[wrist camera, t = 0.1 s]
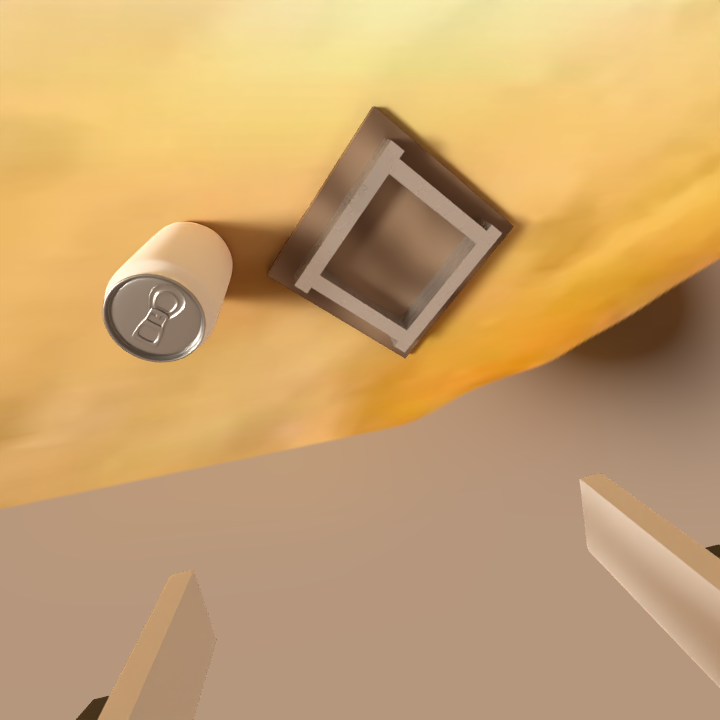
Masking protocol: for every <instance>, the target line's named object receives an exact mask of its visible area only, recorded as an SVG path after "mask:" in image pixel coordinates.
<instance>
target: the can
mask: <svg viewBox="0 0 720 720" xmlns="http://www.w3.org/2000/svg"><path fill="white" fill-rule="evenodd" d="M232 267H233V264H232V257H231V254H230V251H229V249H228V247H227V245H226V243H225V242H224V241H223V239H222V238H221V237H220V236H219V235H218V234H217V233H216V232H214V231H213V230H211V229H209V228H208V227H205V226H203V225H200V224H197V223H193V222H177V223H173V224H170V225H168V226H166V227H164V228H163V229H161V230H160V231H159V232H158V233H156V234H155V235H154V236H153V237H152V238H151V239H150V240H149V241H148V242H147V243H146V244H144V245H143V246H142V247H141V248H140V249H139V250H138V251H137V252H136V253H135V254H134V255H133V256H132V257H131V258H130V259H129V260H128V261H127V262H126V263H125V264H124V265H123V266H122V267H121V268H120V269H119V270H118V271H117V272H116V273H115V274H114V275H113V277H112V278H111V280H110V281H109V283H108V285H107V288H106V292H105V299H104V303H103V320H104V324H105V327H106V329H107V331H108V333H109V335H110V336H111V337H112V339H113V340H114V341H115V342H116V343H117V344H118V345H119V346H120V347H121V348H122V349H124V350H125V351H126V352H128V353H130V354H131V355H133V356H135V357H138V358H140V359H143V360H147V361H152V362H171V361H176V360H179V359H182V358H184V357H186V356H188V355H189V354H191V353H192V352H193V351H194V350H195V349H197V348H198V347H200V346H201V345H202V344H203V343H204V342H205V341H206V340H207V339H208V337H209V336H210V334H211V333H212V331H213V329H214V326H215V324H216V321H217V318H218V315H219V313H220V310H221V307H222V304H223V301H224V297H225V294H226V291H227V288H228V285H229V282H230V278H231V275H232Z"/></svg>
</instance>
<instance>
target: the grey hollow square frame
mask: <svg viewBox="0 0 720 720" xmlns="http://www.w3.org/2000/svg"><path fill="white" fill-rule="evenodd" d="M403 153H404V150H403V149H401V148H400V147H399V146H398V145H397V144H395V143H394V142H393V141H392V140H389V139H386V138H384V139H383V141H382V142H381V144H380V146H379V147H378V149H377V150H376V152H375V153H374V155H373V156H372V158H371V159H370V161H369V162H368V164H367V165H366V167H365V168H364V170H363V171H362V173H361V174H360V176H359V177H358V179H357V180H356V182H355V183H354V185H353V186H352V188H351V189H350V191H349V192H348V194H347V196H346V197H345V199H344V200H343V202H342V203H341V205H340V206H339V208H338V209H337V211H336V212H335V214H334V215H333V217H332V218H331V220H330V221H329V223H328V224H327V226H326V227H325V229H324V230H323V232H322V233H321V235H320V236H319V238H318V239H317V241H316V242H315V244H314V245H313V247H312V249H311V250H310V252H309V253H308V255H307V256H306V258H305V259H304V261H303V262H302V264H301V265H300V267H299V268H298V270H297V271H296V273H295V274H294V286H296V287H297V288H299V289H301V290H302V291H304V292H306V293H308V292H309V290H310V289H311V288H313V289H315V290H316V291H318V292H319V293H321V294H323V295H324V296H326V297H328V298H329V299H331V300H332V301H334V302H336V303H337V304H339V305H341V306H342V307H344V308H345V309H347V310H349V311H350V312H352V313H354V314H355V315H357V316H358V317H360V318H362V319H363V320H365V321H367V322H368V323H370V324H371V325H373V326H375V327H376V328H378V329H380V330H381V331H383V332H384V333H386V334H388V335H389V336H390V338H391V340H392V343H393V345H394V346H395V347H396V348H398V349H399V350H401V351H403V352H404V353H405V352H406V350H407V349H408V348H409V347H410V346H411V344H412V343H413V342H414V341H415V339H416V338H417V337H418V336H419V335H420V333H421V332H422V331H423V330H424V328H425V327H426V326H427V325H428V323H429V322H430V321H431V320H432V319H433V317H434V316H435V315H436V314H437V312H438V311H439V310H440V309H441V308H442V306H443V305H444V304H445V303H446V301H447V300H448V299H449V298H450V297H451V295H452V294H453V293H454V292H455V290H456V289H457V288H458V287H459V286H460V284H461V283H462V282H463V281H464V279H465V278H466V277H467V276H468V275H469V273H470V272H471V271H472V270H473V268H474V267H475V266H476V265H477V264H478V262H479V261H480V260H481V259H482V257H483V256H484V255H485V254H486V253H487V251H488V250H489V249H490V248H491V246H492V245H493V244H494V243H495V242H496V240H497V239H498V238H499V237H500V235H501V234H502V233H501V232H500V231H499V230H498V229H496V228H495V227H494V226H493V225H492V224H490V223H488V222H486V221H484V220H483V219H481V218H479V220H478V221H477V222H475V221H474V220H473V219H472V218H470V217H469V216H468V215H467V214H465V213H464V212H463V211H462V210H461V209H459V208H458V207H457V206H456V205H455V204H453V203H452V202H451V201H450V200H449V199H447V198H446V197H445V196H444V195H442V194H441V193H440V192H439V191H438V190H436V189H435V188H434V187H433V186H432V185H430V184H429V183H428V182H427V181H426V180H424V179H423V178H422V177H421V176H420V175H418V174H417V173H416V172H415V171H413V170H412V169H411V168H410V167H409V166H407V165H406V164H405V163H404V162H403V161H401V160H400V159H399V158H400V157H401V155H402V154H403ZM388 175H390V176H391V177H392V178H393V179H395V180H396V181H397V182H398V183H400V184H401V185H402V186H403V187H405V188H406V189H407V190H408V191H410V192H411V193H412V194H413V195H415V196H416V197H417V198H418V199H420V200H421V201H422V202H423V203H425V204H426V205H427V206H428V207H430V208H431V209H432V210H433V211H435V212H436V213H437V214H438V215H440V216H441V217H442V218H443V219H445V220H446V221H447V222H448V223H450V224H451V225H452V226H454V227H455V228H456V229H457V230H459V231H460V232H461V233H462V234H464V235H465V237H464V239H463V240H462V241H461V242H460V244H459V245H458V246H457V248H456V249H455V250H454V251H453V253H452V254H451V255H450V256H449V258H448V259H447V260H446V262H445V263H444V264H443V265H442V267H441V268H440V269H439V270H438V272H437V273H436V274H435V275H434V277H433V278H432V279H431V281H430V282H429V283H428V284H427V286H426V287H425V288H424V289H423V291H422V292H421V293H420V295H419V296H418V297H417V298H416V300H415V301H414V302H413V303H412V305H411V306H410V307H409V309H408V310H407V311H406V312H405V314H404V315H403V316H402V317H401V319H400V318H398V317H397V316H395V315H394V314H392V313H391V312H389V311H388V310H386V309H384V308H383V307H381V306H380V305H378V304H377V303H375V302H374V301H372V300H370V299H369V298H367V297H366V296H364V295H363V294H361V293H360V292H358V291H356V290H355V289H353V288H352V287H350V286H349V285H347V284H346V283H344V282H342V281H341V280H339V279H338V278H336V277H335V276H333V275H332V274H330V273H328V272H327V271H325V270H324V268H325V267H326V265H327V264H328V262H329V261H330V259H331V258H332V256H333V255H334V254H335V252H336V251H337V249H338V248H339V246H340V245H341V243H342V242H343V240H344V239H345V237H346V236H347V234H348V233H349V232H350V230H351V229H352V227H353V226H354V224H355V223H356V221H357V220H358V218H359V217H360V215H361V214H362V213H363V211H364V210H365V208H366V207H367V205H368V204H369V202H370V201H371V199H372V198H373V196H374V195H375V194H376V192H377V191H378V189H379V188H380V186H381V185H382V183H383V182H384V180H385V179H386V177H387V176H388Z"/></svg>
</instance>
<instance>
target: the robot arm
mask: <svg viewBox="0 0 720 720" xmlns="http://www.w3.org/2000/svg"><path fill="white" fill-rule="evenodd" d="M580 487H581V496H582V505H583V513H584V523H585V532H586V541H587V549H588V550H589V552H590V553H591V554H592V555H593V556H594V557H595V558H596V559H597V560H598V561H599V562H600V563H601V564H602V565H603V566H604V567H605V568H606V569H607V570H608V571H609V572H610V574H611V575H612V576H613V577H614V578H615V579H616V580H617V581H618V582H619V583H620V584H621V585H622V586H623V587H624V588H625V589H626V590H627V591H628V592H629V593H630V594H631V595H632V596H633V598H634V599H635V600H637V602H638V603H639V604H640V605H641V606H642V607H643V608H644V609H645V610H646V611H647V612H648V613H649V614H650V615H651V616H652V617H653V619H655V621H656V622H657V623H658V624H659V625H660V626H661V627H662V628H663V629H664V630H665V631H666V632H667V633H668V634H669V635H670V636H671V637H672V638H673V639H674V640H675V641H676V643H677V644H679V646H680V647H681V648H682V649H683V650H684V651H685V652H686V653H687V654H688V655H689V656H690V657H691V658H692V659H693V660H694V662H696V663H697V665H698V666H699V667H700V668H701V669H702V670H703V671H704V672H705V673H706V674H707V675H708V676H709V677H710V678H711V679H712V680H713V681H714V682H715V683H716V685H717V686H719V688H720V545H715V546H711V547H707V548H704V547H703V546H701V545H700V544H699V543H697V542H696V541H694V540H693V539H692V538H690V537H689V536H688V535H686V534H685V533H683V532H682V531H680V530H679V529H678V528H676V527H675V526H674V525H672V524H671V523H669V522H668V521H667V520H665V519H664V518H663V517H661V516H660V515H658V514H657V513H655V512H654V511H653V510H651V509H650V508H649V507H647V506H646V505H644V504H643V503H642V502H640V501H639V500H638V499H636V498H635V497H633V496H632V495H631V494H629V493H628V492H627V491H625V490H624V489H622V488H621V487H620V486H618V485H617V484H615V483H614V482H613V481H611V480H609V478H607V477H606V476H604V475H603V474H601V473H600V474H596V475H592V476H588V477H583V478H580ZM216 640H217V639H216V636H215V633H214V630H213V627H212V624H211V621H210V618H209V614H208V612H207V608H206V605H205V602H204V599H203V596H202V593H201V590H200V587H199V584H198V581H197V578H196V575H195V572H194V570H190V571H186V572H182V573H177V574H173V575H170V577H169V579H168V581H167V583H166V585H165V587H164V589H163V591H162V593H161V595H160V597H159V599H158V601H157V603H156V605H155V607H154V609H153V611H152V613H151V615H150V617H149V619H148V621H147V623H146V625H145V627H144V629H143V631H142V633H141V634H140V636H139V639H138V640H137V642H136V644H135V646H134V648H133V650H132V653H131V654H130V656H129V658H128V660H127V662H126V664H125V666H124V668H123V670H122V672H121V674H120V676H119V678H118V680H117V682H116V684H115V686H114V688H113V690H112V692H111V694H110V696H106V697H102V698H98V699H94V700H93V701H92V702H91V703H90V704H89V705H88V707H87V708H86V709H85V710H84V711H83V712H82V713H81V714H80V716H79V717H78V718H77V719H76V720H194V716H195V713H196V709H197V706H198V702H199V699H200V695H201V692H202V689H203V685H204V682H205V678H206V675H207V671H208V668H209V665H210V661H211V658H212V654H213V651H214V647H215V644H216Z"/></svg>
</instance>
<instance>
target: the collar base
mask: <svg viewBox="0 0 720 720" xmlns="http://www.w3.org/2000/svg"><path fill="white" fill-rule="evenodd" d="M384 138H386V139H389V140H392V141H393V142H394V143H395V144H397V145H398V146H399V147H400V148H401V149H403V150H404V153H403V154H402V155H401V157H400V158H399V159H400V160H401V161H403V162H404V163H405V164H406V165H407V166H409V167H410V168H411V169H412V170H413V171H415V172H416V173H417V174H418V175H420V176H421V177H422V178H423V179H424V180H426V181H427V182H428V183H429V184H430V185H432V186H433V187H434V188H435V189H436V190H438V191H439V192H440V193H441V194H442V195H444V196H445V197H446V198H447V199H449V200H450V201H451V202H452V203H453V204H455V205H456V206H457V207H458V208H459V209H461V210H462V211H463V212H464V213H465V214H467V215H468V216H469V217H470V218H472V219H473V220H474V221H475V222H477V221H478V220H479V218H481V219H483V220H484V221H486V222H488V223H490V224H492V225H493V226H494V227H495V228H496V229H498V230H499V231H500V232H501V233H502V234H501V235H500V237H499V238H498V239H497V240H496V242H495V243H494V244H493V245H492V246H491V248H490V249H489V250H488V251H487V253H486V254H485V255H484V256H483V257H482V259H481V260H480V261H479V262H478V264H477V265H476V266H475V267H474V268H473V270H472V271H471V272H470V273H469V275H468V276H467V277H466V278H465V279H464V281H463V282H462V283H461V284H460V286H459V287H458V288H457V289H456V290H455V292H454V293H453V294H452V295H451V297H450V298H449V299H448V300H447V301H446V303H445V304H444V305H443V306H442V308H441V309H440V310H439V311H438V312H437V314H436V315H435V316H434V317H433V319H432V320H431V321H430V322H429V323H428V325H427V326H426V327H425V328H424V330H423V331H422V332H421V333H420V335H419V336H418V337H417V338H416V339H415V341H414V342H413V343H412V344H411V346H410V347H409V348H408V349H407V350H406V352H405V353H404V352H403V351H401V350H399V349H398V348H396V347H395V346H394V345H393V343H392V340H391V338H390V336H389V335H388V334H386V333H384V332H383V331H381V330H380V329H378V328H376V327H375V326H373V325H371V324H370V323H368V322H367V321H365V320H363V319H362V318H360V317H358V316H357V315H355V314H354V313H352V312H350V311H349V310H347V309H345V308H344V307H342V306H341V305H339V304H337V303H336V302H334V301H332V300H331V299H329V298H328V297H326V296H324V295H323V294H321V293H319V292H318V291H316V290H315V289H313V288H311V289H310V290H309V292H308V293H306V292H304V291H302V290H301V289H299V288H297V287H296V286H294V274H295V273H296V271H297V270H298V268H299V267H300V265H301V264H302V262H303V261H304V259H305V258H306V256H307V255H308V253H309V252H310V250H311V249H312V247H313V245H314V244H315V242H316V241H317V239H318V238H319V236H320V235H321V233H322V232H323V230H324V229H325V227H326V226H327V224H328V223H329V221H330V220H331V218H332V217H333V215H334V214H335V212H336V211H337V209H338V208H339V206H340V205H341V203H342V202H343V200H344V199H345V197H346V196H347V194H348V192H349V191H350V189H351V188H352V186H353V185H354V183H355V182H356V180H357V179H358V177H359V176H360V174H361V173H362V171H363V170H364V168H365V167H366V165H367V164H368V162H369V161H370V159H371V158H372V156H373V155H374V153H375V152H376V150H377V149H378V147H379V146H380V144H381V142H382V141H383V139H384ZM513 227H514V226H513V225H511V224H510V223H509V222H508V221H507V220H506V219H504V218H503V217H502V216H501V215H500V214H499V213H498V212H496V211H495V210H494V209H493V208H492V207H491V206H489V205H488V204H487V203H486V202H485V201H484V200H482V199H481V198H480V197H479V196H478V195H477V194H476V193H474V192H473V191H472V190H471V189H470V188H469V187H467V186H466V185H465V184H464V183H463V182H462V181H460V180H459V179H458V178H457V177H456V176H455V175H453V174H452V173H451V172H450V171H449V170H448V169H447V168H445V167H444V166H443V165H442V164H441V163H440V162H438V161H437V160H436V159H435V158H434V157H433V156H431V155H430V154H429V153H428V152H427V151H426V150H425V149H423V148H422V147H421V146H420V145H419V144H418V143H416V142H415V141H414V140H413V139H412V138H411V137H409V136H408V135H407V134H406V133H405V132H404V131H403V130H401V129H400V128H399V127H398V126H397V125H396V124H394V123H393V122H392V121H391V120H390V119H389V118H387V117H386V116H385V115H384V114H383V113H382V112H381V111H379V110H378V109H377V108H376V107H372V108H371V110H370V111H369V113H368V115H367V116H366V118H365V119H364V121H363V122H362V124H361V126H360V127H359V129H358V130H357V132H356V134H355V135H354V137H353V138H352V140H351V141H350V143H349V145H348V146H347V148H346V149H345V151H344V152H343V154H342V156H341V157H340V159H339V160H338V162H337V163H336V165H335V167H334V168H333V170H332V171H331V173H330V174H329V176H328V178H327V179H326V181H325V182H324V184H323V186H322V187H321V189H320V190H319V192H318V193H317V195H316V197H315V198H314V200H313V201H312V203H311V204H310V206H309V208H308V209H307V211H306V212H305V214H304V215H303V217H302V219H301V220H300V222H299V223H298V225H297V226H296V228H295V230H294V231H293V233H292V234H291V236H290V238H289V239H288V241H287V242H286V244H285V245H284V247H283V249H282V250H281V252H280V253H279V255H278V256H277V258H276V260H275V261H274V263H273V264H272V266H271V267H270V269H269V271H268V274H267V276H269V277H270V278H272V279H274V280H275V281H277V282H279V283H280V284H282V285H284V286H285V287H287V288H289V289H290V290H292V291H294V292H295V293H297V294H299V295H300V296H302V297H304V298H305V299H307V300H309V301H310V302H312V303H314V304H315V305H317V306H319V307H320V308H322V309H324V310H325V311H327V312H329V313H330V314H332V315H334V316H335V317H337V318H339V319H340V320H342V321H344V322H345V323H347V324H349V325H350V326H352V327H354V328H355V329H357V330H359V331H360V332H362V333H364V334H365V335H367V336H369V337H370V338H372V339H374V340H375V341H377V342H379V343H380V344H382V345H384V346H385V347H387V348H389V349H390V350H392V351H394V352H395V353H397V354H399V355H400V356H402V357H404V358H406V357H407V356H408V354H409V353H410V352H411V351H412V350H413V348H414V347H415V346H416V345H417V343H418V342H419V341H420V340H421V339H422V337H423V336H424V335H425V334H426V333H427V331H428V330H429V329H430V328H431V326H432V325H433V324H434V323H435V322H436V320H437V319H438V318H439V317H440V316H441V314H442V313H443V312H444V311H445V309H446V308H447V307H448V306H449V305H450V303H451V302H452V301H453V300H454V298H455V297H456V296H457V295H458V294H459V292H460V291H461V290H462V289H463V288H464V286H465V285H466V284H467V283H468V281H469V280H470V279H471V278H472V277H473V275H474V274H475V273H476V272H477V271H478V269H479V268H480V267H481V266H482V264H483V263H484V262H485V261H486V260H487V258H488V257H489V256H490V255H491V254H492V252H493V251H494V250H495V249H496V247H497V246H498V245H499V244H500V243H501V241H502V240H503V239H504V238H505V236H506V235H507V234H508V233H509V232H510V230H511V229H512V228H513ZM464 237H465V235H464V234H462V233H461V232H460V231H459V230H457V229H456V228H455V227H454V226H452V225H451V224H450V223H448V222H447V221H446V220H445V219H443V218H442V217H441V216H440V215H438V214H437V213H436V212H435V211H433V210H432V209H431V208H430V207H428V206H427V205H426V204H425V203H423V202H422V201H421V200H420V199H418V198H417V197H416V196H415V195H413V194H412V193H411V192H410V191H408V190H407V189H406V188H405V187H403V186H402V185H401V184H400V183H398V182H397V181H396V180H395V179H393V178H392V177H391V176H390V175H388V176H387V177H386V179H385V180H384V182H383V183H382V185H381V186H380V188H379V189H378V191H377V192H376V194H375V195H374V196H373V198H372V199H371V201H370V202H369V204H368V205H367V207H366V208H365V210H364V211H363V213H362V214H361V215H360V217H359V218H358V220H357V221H356V223H355V224H354V226H353V227H352V229H351V230H350V232H349V233H348V234H347V236H346V237H345V239H344V240H343V242H342V243H341V245H340V246H339V248H338V249H337V251H336V252H335V254H334V255H333V256H332V258H331V259H330V261H329V262H328V264H327V265H326V267H325V268H324V270H325V271H327V272H328V273H330V274H332V275H333V276H335V277H336V278H338V279H339V280H341V281H342V282H344V283H346V284H347V285H349V286H350V287H352V288H353V289H355V290H356V291H358V292H360V293H361V294H363V295H364V296H366V297H367V298H369V299H370V300H372V301H374V302H375V303H377V304H378V305H380V306H381V307H383V308H384V309H386V310H388V311H389V312H391V313H392V314H394V315H395V316H397V317H398V318H400V319H401V317H402V316H403V315H404V314H405V312H406V311H407V310H408V309H409V307H410V306H411V305H412V303H413V302H414V301H415V300H416V298H417V297H418V296H419V295H420V293H421V292H422V291H423V289H424V288H425V287H426V286H427V284H428V283H429V282H430V281H431V279H432V278H433V277H434V275H435V274H436V273H437V272H438V270H439V269H440V268H441V267H442V265H443V264H444V263H445V262H446V260H447V259H448V258H449V256H450V255H451V254H452V253H453V251H454V250H455V249H456V248H457V246H458V245H459V244H460V242H461V241H462V240H463V239H464Z"/></svg>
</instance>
